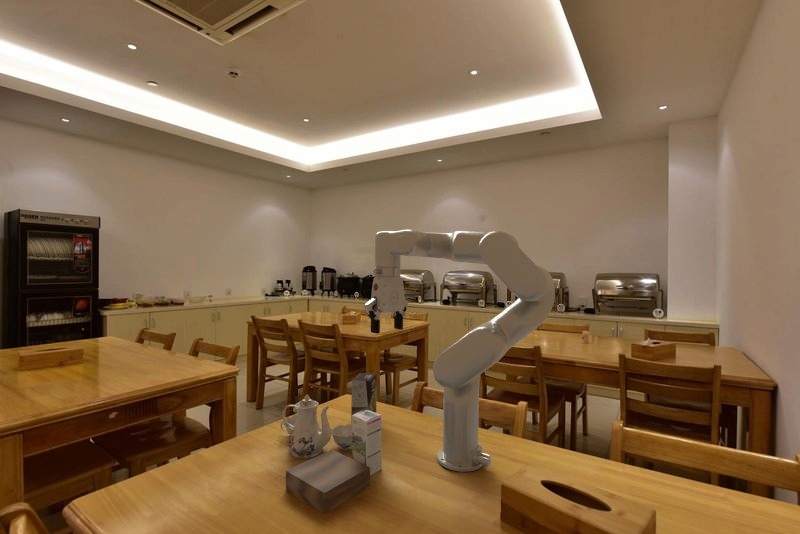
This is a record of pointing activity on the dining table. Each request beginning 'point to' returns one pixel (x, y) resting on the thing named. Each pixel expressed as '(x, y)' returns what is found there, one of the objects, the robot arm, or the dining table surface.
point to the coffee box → (363, 393)
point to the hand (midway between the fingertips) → (387, 330)
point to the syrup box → (367, 439)
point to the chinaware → (313, 430)
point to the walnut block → (327, 480)
